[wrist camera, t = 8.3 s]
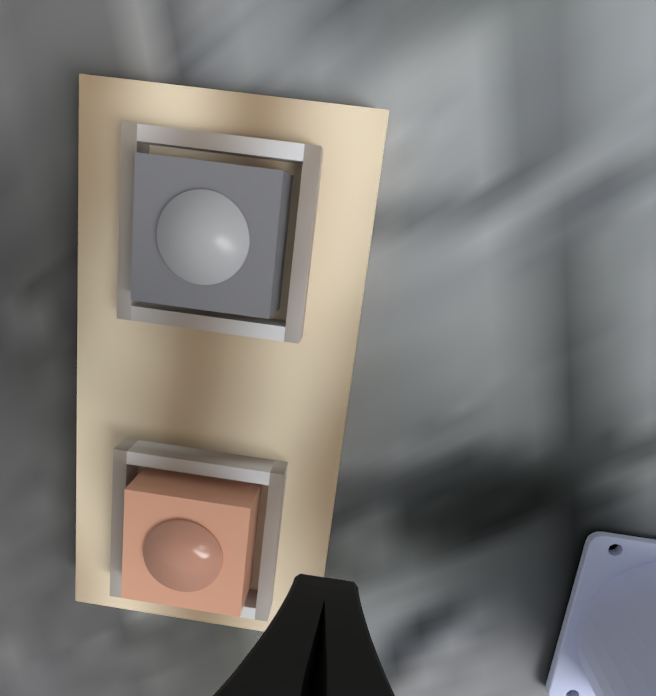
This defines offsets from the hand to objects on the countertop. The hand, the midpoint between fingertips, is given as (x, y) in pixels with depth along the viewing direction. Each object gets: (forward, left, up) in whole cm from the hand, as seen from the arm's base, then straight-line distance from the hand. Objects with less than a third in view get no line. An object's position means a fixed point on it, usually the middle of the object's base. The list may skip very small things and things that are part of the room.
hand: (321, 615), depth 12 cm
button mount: (+5, -2, -9) cm, 11 cm away
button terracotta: (+5, +4, -8) cm, 10 cm away
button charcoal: (+5, -8, -8) cm, 12 cm away
